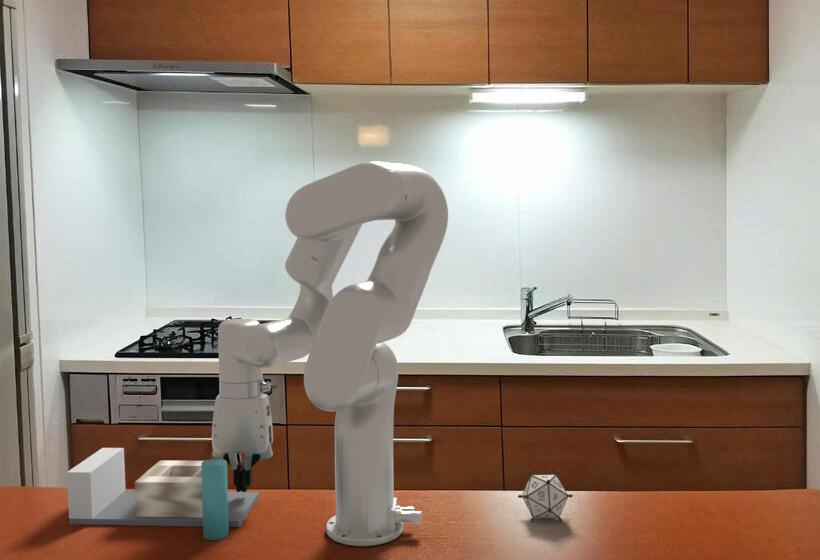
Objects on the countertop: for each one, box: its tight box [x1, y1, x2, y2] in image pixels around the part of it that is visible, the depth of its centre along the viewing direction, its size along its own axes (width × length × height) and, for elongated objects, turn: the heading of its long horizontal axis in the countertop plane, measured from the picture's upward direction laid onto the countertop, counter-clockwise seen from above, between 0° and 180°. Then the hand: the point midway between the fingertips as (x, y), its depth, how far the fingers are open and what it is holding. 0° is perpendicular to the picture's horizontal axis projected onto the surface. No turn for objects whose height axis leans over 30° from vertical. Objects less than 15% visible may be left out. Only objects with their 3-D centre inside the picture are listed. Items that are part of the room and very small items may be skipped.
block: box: [134, 459, 204, 518], centre depth 131 cm, size 12×11×6 cm
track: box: [66, 447, 260, 528], centre depth 131 cm, size 29×13×9 cm, turn 87°
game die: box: [517, 469, 574, 523], centre depth 127 cm, size 9×8×10 cm
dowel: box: [201, 458, 230, 541], centre depth 121 cm, size 4×4×12 cm
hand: (243, 489), depth 134 cm, fingers closed
